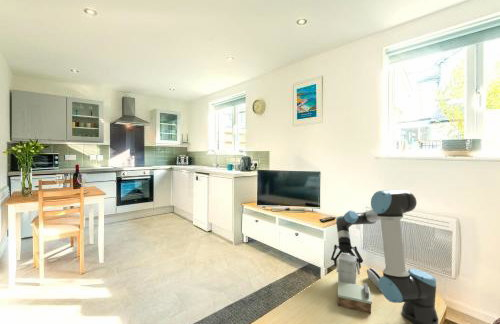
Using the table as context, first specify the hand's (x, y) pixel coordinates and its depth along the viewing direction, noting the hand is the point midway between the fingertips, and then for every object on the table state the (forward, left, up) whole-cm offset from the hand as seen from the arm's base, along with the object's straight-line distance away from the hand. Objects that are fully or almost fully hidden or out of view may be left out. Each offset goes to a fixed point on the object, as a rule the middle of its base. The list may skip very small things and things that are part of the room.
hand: (348, 272), depth 148 cm
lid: (-3, +13, -5) cm, 14 cm away
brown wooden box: (-3, +13, -10) cm, 17 cm away
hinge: (-17, -11, -10) cm, 23 cm away
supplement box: (0, -3, -9) cm, 9 cm away
